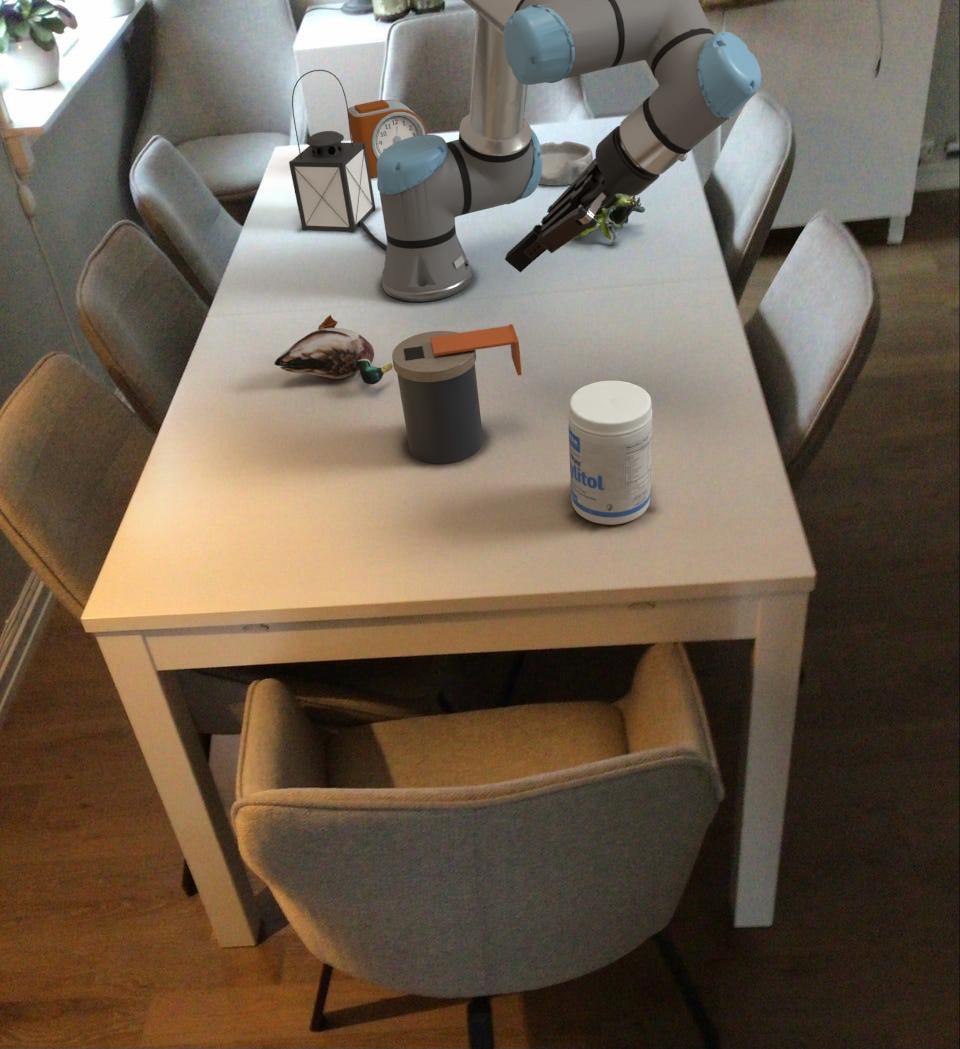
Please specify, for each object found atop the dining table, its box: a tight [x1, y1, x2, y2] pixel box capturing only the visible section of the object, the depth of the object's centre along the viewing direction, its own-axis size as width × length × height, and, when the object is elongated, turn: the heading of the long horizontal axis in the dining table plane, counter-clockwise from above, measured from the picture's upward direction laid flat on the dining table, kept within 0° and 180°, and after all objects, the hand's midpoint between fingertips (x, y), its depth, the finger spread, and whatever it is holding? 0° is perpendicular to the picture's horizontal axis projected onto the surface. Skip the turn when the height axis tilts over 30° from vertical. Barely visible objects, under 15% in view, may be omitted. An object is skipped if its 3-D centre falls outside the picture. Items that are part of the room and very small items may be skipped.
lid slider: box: [430, 323, 523, 376], centre depth 138 cm, size 11×5×5 cm, turn 98°
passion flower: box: [575, 194, 646, 247], centre depth 191 cm, size 11×11×12 cm
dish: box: [538, 140, 594, 186], centre depth 218 cm, size 14×14×5 cm
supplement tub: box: [567, 380, 653, 526], centre depth 126 cm, size 10×10×15 cm
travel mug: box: [391, 330, 484, 465], centre depth 141 cm, size 11×11×14 cm
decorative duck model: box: [273, 314, 393, 385], centre depth 158 cm, size 15×8×15 cm
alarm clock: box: [348, 99, 428, 179], centre depth 228 cm, size 15×8×14 cm, turn 111°
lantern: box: [288, 69, 377, 233], centre depth 203 cm, size 11×11×28 cm
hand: (513, 262), depth 141 cm, fingers closed
